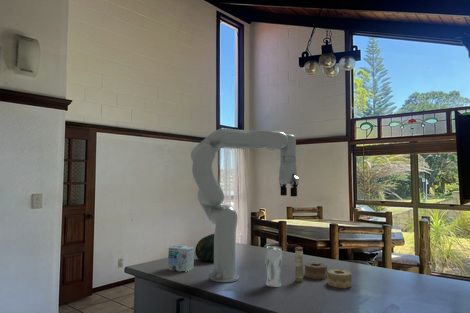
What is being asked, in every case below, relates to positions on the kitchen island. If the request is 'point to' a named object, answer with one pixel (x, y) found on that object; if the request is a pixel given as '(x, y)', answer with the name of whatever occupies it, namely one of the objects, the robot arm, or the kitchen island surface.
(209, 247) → the squash
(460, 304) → the kitchen island surface
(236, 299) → the kitchen island surface
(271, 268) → the beer glass
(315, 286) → the kitchen island surface
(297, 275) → the cream and red cylinder
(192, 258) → the light bulb box
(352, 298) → the kitchen island surface
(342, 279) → the oak bead
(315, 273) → the walnut bead
